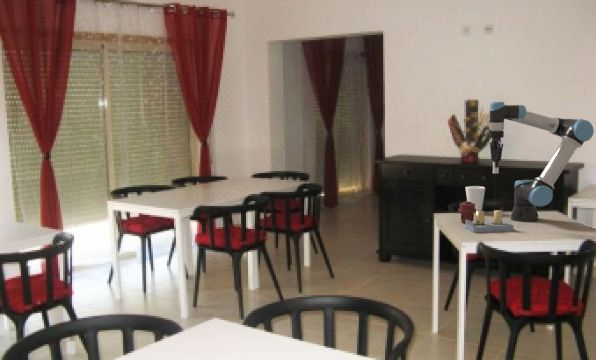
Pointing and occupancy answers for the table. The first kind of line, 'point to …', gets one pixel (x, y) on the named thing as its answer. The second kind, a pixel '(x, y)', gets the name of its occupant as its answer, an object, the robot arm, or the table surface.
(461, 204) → the mechanical component
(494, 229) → the jig
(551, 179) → the robot arm
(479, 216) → the bushing
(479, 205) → the cup
